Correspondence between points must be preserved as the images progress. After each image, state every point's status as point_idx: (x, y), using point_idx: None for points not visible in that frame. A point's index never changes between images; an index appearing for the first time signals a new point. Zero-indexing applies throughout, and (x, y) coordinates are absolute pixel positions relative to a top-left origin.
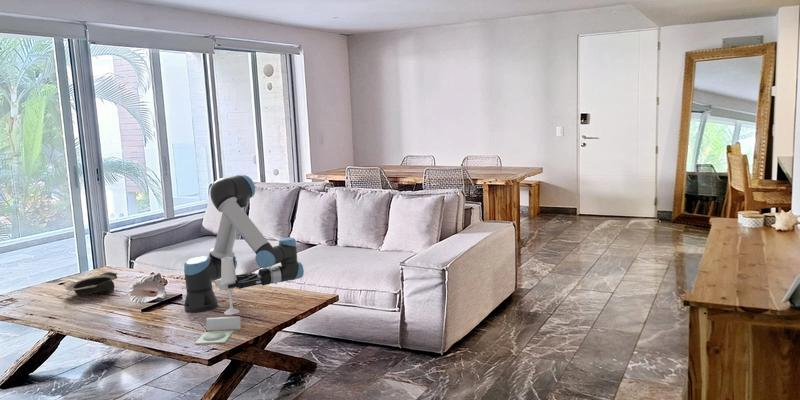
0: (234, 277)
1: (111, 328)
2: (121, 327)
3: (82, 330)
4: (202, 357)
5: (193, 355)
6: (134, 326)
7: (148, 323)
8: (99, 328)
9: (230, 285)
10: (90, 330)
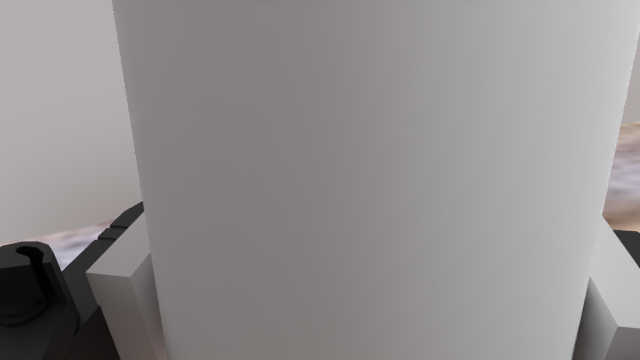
0: (145, 212)
1: (616, 159)
2: (616, 173)
3: (629, 127)
4: (21, 241)
5: (79, 230)
6: (610, 193)
7: (637, 225)
8: (633, 145)
9: (120, 229)
10: (619, 135)
